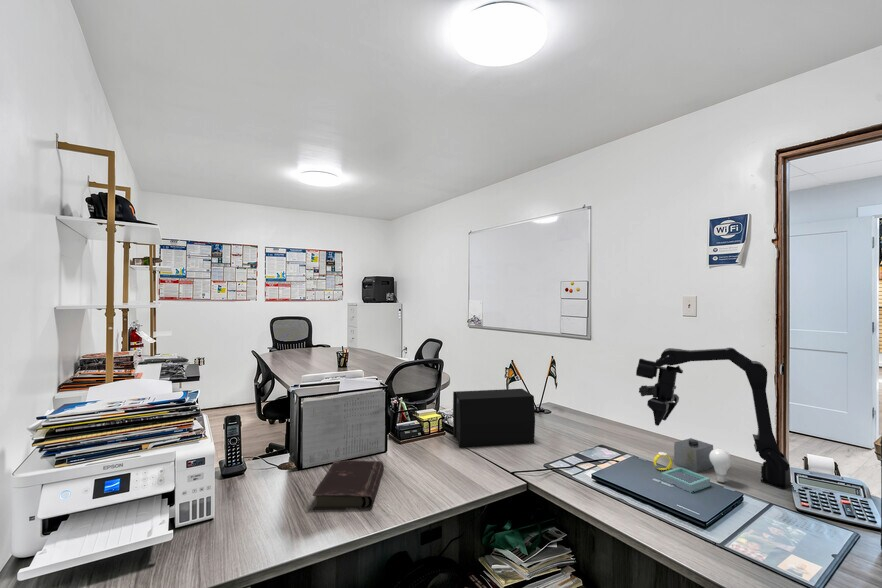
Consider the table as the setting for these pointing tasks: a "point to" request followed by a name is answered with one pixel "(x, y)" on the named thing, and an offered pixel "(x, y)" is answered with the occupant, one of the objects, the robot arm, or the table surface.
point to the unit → (692, 455)
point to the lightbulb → (720, 463)
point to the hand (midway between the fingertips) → (660, 422)
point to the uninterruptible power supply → (493, 417)
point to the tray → (685, 471)
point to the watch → (662, 454)
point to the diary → (349, 485)
